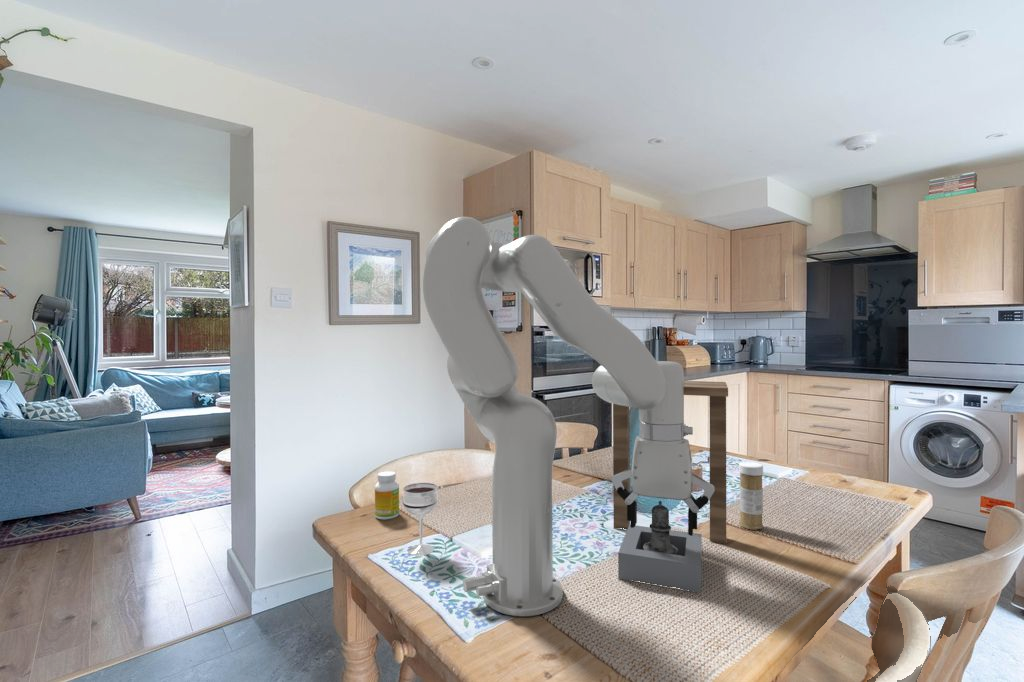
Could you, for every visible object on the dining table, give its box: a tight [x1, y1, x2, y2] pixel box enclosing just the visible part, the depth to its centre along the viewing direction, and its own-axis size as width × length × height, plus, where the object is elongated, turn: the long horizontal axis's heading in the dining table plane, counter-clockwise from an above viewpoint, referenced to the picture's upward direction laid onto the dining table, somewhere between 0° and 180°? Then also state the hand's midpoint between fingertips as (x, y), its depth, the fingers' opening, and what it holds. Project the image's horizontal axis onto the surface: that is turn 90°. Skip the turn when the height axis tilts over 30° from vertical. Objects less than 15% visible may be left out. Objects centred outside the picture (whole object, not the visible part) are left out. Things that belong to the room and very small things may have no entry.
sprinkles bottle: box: [738, 461, 764, 531], centre depth 104 cm, size 5×5×14 cm
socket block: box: [617, 524, 703, 594], centre depth 86 cm, size 13×13×4 cm
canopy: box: [612, 380, 729, 545], centre depth 97 cm, size 12×22×32 cm, turn 68°
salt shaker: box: [643, 500, 678, 555], centre depth 86 cm, size 6×6×12 cm
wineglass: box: [402, 482, 439, 557], centre depth 94 cm, size 7×7×12 cm
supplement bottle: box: [374, 471, 400, 520], centre depth 112 cm, size 5×5×10 cm
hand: (661, 528), depth 86 cm, fingers open, 9 cm apart
